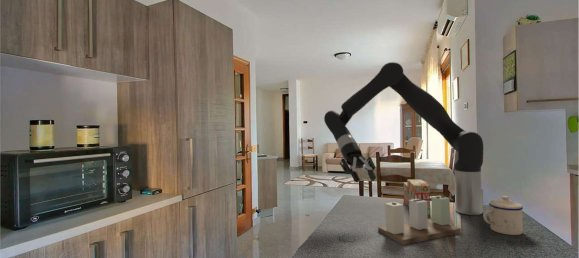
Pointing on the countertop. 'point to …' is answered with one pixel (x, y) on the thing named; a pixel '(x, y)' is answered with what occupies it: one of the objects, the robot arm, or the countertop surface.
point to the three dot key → (418, 213)
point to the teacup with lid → (505, 216)
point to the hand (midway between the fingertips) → (366, 180)
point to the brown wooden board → (421, 232)
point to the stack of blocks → (417, 191)
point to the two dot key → (440, 210)
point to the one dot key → (394, 217)
